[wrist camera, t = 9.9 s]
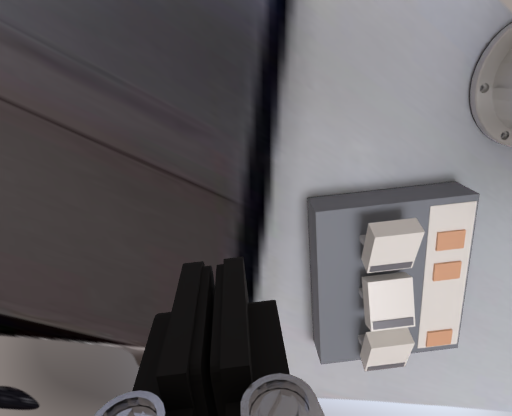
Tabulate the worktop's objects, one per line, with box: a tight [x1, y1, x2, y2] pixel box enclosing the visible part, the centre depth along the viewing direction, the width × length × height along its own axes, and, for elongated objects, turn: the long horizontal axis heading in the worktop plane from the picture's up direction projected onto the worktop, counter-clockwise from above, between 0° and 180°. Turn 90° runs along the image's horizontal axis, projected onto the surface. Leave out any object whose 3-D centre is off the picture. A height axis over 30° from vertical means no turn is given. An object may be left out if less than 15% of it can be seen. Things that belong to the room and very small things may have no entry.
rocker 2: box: [360, 327, 415, 371], centre depth 39 cm, size 4×5×2 cm
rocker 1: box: [361, 218, 425, 273], centre depth 34 cm, size 4×5×2 cm
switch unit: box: [307, 182, 479, 364], centre depth 40 cm, size 16×19×5 cm
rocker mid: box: [362, 272, 415, 332], centre depth 36 cm, size 4×5×2 cm
